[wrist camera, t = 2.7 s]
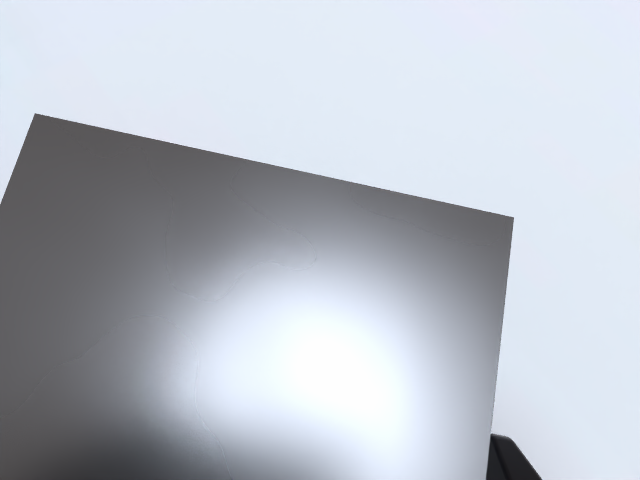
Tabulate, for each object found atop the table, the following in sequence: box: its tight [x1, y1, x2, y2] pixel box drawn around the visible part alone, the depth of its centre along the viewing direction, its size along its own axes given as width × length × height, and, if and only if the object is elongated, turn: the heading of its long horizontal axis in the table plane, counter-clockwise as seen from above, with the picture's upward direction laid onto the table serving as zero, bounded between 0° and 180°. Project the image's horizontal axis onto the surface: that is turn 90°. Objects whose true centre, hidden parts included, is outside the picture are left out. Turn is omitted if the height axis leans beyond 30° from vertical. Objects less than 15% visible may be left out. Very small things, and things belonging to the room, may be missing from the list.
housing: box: [0, 114, 514, 480], centre depth 11 cm, size 5×5×13 cm
